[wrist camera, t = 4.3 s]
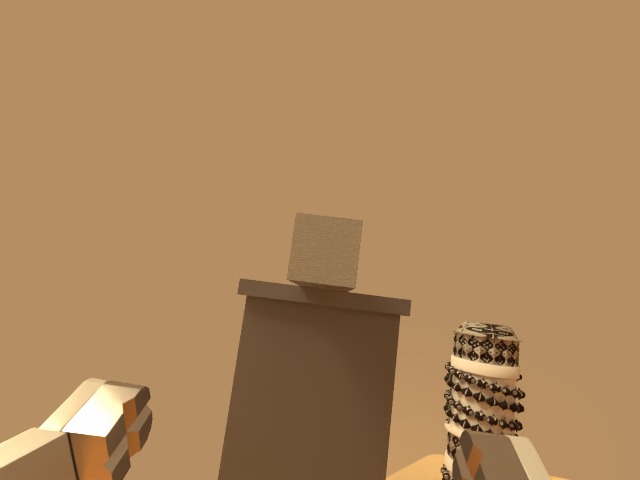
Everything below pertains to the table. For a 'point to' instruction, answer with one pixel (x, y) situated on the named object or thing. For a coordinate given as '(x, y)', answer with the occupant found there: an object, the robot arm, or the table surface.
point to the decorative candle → (481, 385)
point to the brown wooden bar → (325, 252)
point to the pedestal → (312, 385)
